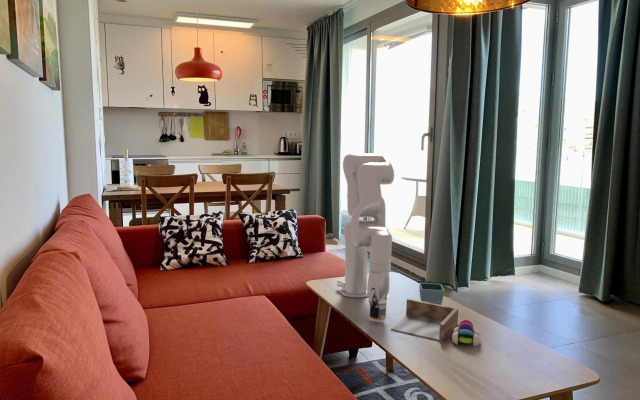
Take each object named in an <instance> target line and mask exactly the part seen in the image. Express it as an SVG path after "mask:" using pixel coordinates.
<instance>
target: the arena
mask: <svg viewBox="0 0 640 400" xmlns="http://www.w3.org/2000/svg"><path fill="white" fill-rule="evenodd" d="M405 308H406V310H405V316H404V317H403V318H401V320H399V321H398V322H397V323H396V324H395V325H394V326H393V327H391V328H390V330H391V331H394V332H398V333H401V334H402V333H403V334H407V335H411V336H416V337H419V338H424V339H429V340H432V341H433V340H434V341H437V342H439V343H443V342H444V341H445V340H446V339H447V338H448V336H449V335H450V334H451V333H453V330H454V329H455V328H456V327H458V324H459V308H458V307H453V306H449V305H443V304H441V305H438V304H433V303H428V302H423V301H421V300H417V299H411V298H407V299H406V307H405Z"/></svg>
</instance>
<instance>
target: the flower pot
mask: <svg viewBox="0 0 640 400" xmlns="http://www.w3.org/2000/svg"><path fill="white" fill-rule="evenodd" d="M418 284H419V298H420V301H423V302H428V303H433V304H438V305H443V300H444V296H445V295H444V294H445V288H444V287H443V285H442V284H441V283H427V282H419V283H418Z"/></svg>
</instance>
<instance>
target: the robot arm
mask: <svg viewBox="0 0 640 400" xmlns="http://www.w3.org/2000/svg"><path fill="white" fill-rule="evenodd" d="M342 169H343V174H344V177H345V180H346V184H347V186H346V188H347V195H346V196H347V201H346V202H347V203H346V204H347V205H346V206H347V213H348V215H349V216H350V217H351V218H350V221H348V222H346V223H345V225H343V226H344V227H343V236H344V243H345V244H344V245H345V250H344V251H345V255H344V256H345V258H344V259H345V261H344V281H342V280H337V282H336V286H337V287H341V289H340V294H341V295H342V296H344V297H346V298H352V299H355V298H356V299H357V298H358V299H361V298H367V299H368V303H369V318H370V317H373V318H378V317H379V307H378V304H379V300H380V299H381V298H383V295H384V294H385V299H386V302H387V300H388V298H387V297H388V294H389V292H390V272H391V269H392V267H391V265H392V250H393V249H392V246H393V235H392V234H391V232H390V230H389V229H388V227H386V203H385V198H384V197H383V196H382V189H381V185H391V184H392V183H393V182H394V179H395V171H394V170H395V169H394V168H393V165H392V163H391V161H390V160H389V159H388V158H387V157H386V155H385V154H383V153H372V152H371V153H366V152H365V153H364V152H357V153H355V152H353V153H348V154H346V155H345V156H344V157H343V161H342ZM360 218H372V220H364V219H363V220H360ZM366 248H369V254H368V251H367V249H366ZM368 263H369V265H368ZM368 267H369V268H368ZM368 269H369V273H368ZM374 296H375V297H377V299H376V298H374ZM374 300H377V301H376V303H375V302H374Z"/></svg>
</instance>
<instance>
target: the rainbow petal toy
mask: <svg viewBox="0 0 640 400" xmlns="http://www.w3.org/2000/svg"><path fill="white" fill-rule="evenodd" d="M458 324H459V325H458V326H456V327H455V328H454V329H453V330H452V336H451V340H452V342H453V344H455V345H458V344H459V342H460V343H461V344H462V343H464V344H472V343H473V344H472V347H473V348H474V347H477V346H479V344H480V336H481V335H480V332H479V330H477V329H474V325H473V322H471V321H470V320H468V319H464V320H461V321H460V323H458Z"/></svg>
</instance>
